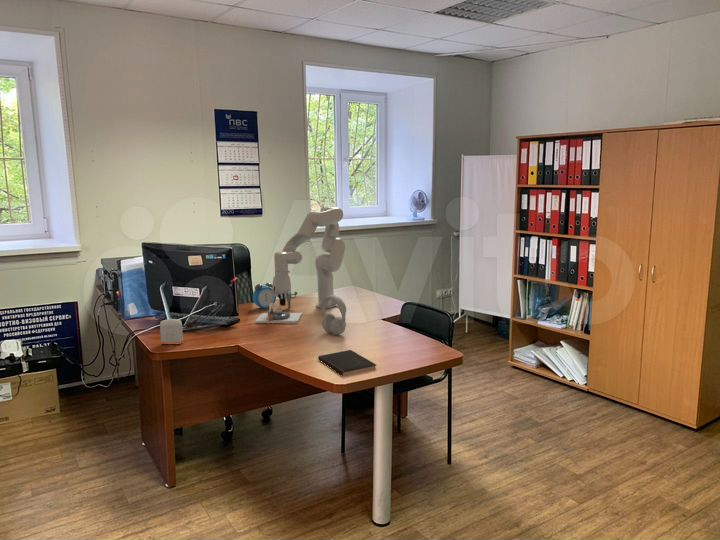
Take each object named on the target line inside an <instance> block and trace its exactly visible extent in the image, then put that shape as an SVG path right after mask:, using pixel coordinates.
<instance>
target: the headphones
mask: <svg viewBox="0 0 720 540" xmlns="http://www.w3.org/2000/svg"><path fill="white" fill-rule="evenodd" d="M330 299H332V300H333V301H334V302H335V303H336V304H337V305H336V307H337V308H338V310H339V312H340V314H341V316H335V315H334V314H332V313H328V314H326V308H325V307H326V305H327V303H328V301H329V300H330ZM320 312H321V316H322V319H321V325H322V329H323V330H324V332H326V333H327V334H333V335H334V336H340V335H341V334H344V332H345V330H346V327H347V326H346V325H347V322H346V319H347V318H346V315H347V313H346V312H347V306H346V303H345V302H344V300H343V299H342V298H341V297H339V296H338V295H336V294H334V295H329V296H326V297H325V298H324V299H323V300H322V302H321V308H320Z"/></svg>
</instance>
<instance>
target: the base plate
mask: <svg viewBox="0 0 720 540" xmlns="http://www.w3.org/2000/svg"><path fill="white" fill-rule="evenodd" d="M289 313H290V317H288V318H285V319H273V318H272V315H269V318H268V312H266V313H264V312H263V313H261V314H260V315H259V316H258V317H257V318H256V320H255V321H254V322H255V323H272V324H271V325H274V324H273V323H285V324H286V325H289V324H290V325H291V324H293V325H295V324H297V325H298V324H299V323H300V320H301V319H302V317H303V313H302V312H289ZM300 318H301V319H300Z"/></svg>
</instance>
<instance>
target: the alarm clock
mask: <svg viewBox="0 0 720 540" xmlns="http://www.w3.org/2000/svg"><path fill="white" fill-rule="evenodd" d="M272 288H273V283H271V282H266V283H265V284H261V283H258V284H256V285H255V286H254V291H253V293H252V301H253V303H254V305H256V306H257V307H259V308H260V310H262V309H269V303H273V305H274V304H275V303H276V300H277V297H276V296H274V293H273V290H272Z"/></svg>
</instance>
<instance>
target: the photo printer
mask: <svg viewBox="0 0 720 540" xmlns="http://www.w3.org/2000/svg"><path fill="white" fill-rule="evenodd" d="M159 331H160V343H161V342H181V341H183V342H184V337H183V323H182V320H180V319H176V318H167V319H164V320H161V321H160V324H159Z"/></svg>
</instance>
